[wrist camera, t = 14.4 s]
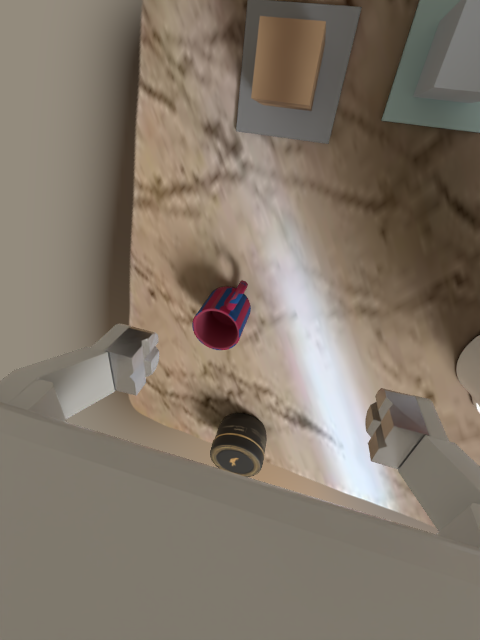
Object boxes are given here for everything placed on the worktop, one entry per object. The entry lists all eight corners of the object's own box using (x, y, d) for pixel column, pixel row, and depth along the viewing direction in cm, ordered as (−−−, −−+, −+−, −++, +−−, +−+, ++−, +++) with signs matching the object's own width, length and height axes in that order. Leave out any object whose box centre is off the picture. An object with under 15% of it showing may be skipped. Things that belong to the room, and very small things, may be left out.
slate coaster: (360, 9, 25) (361, 7, 24) (328, 143, 30) (328, 143, 30) (249, 1, 26) (247, -2, 26) (237, 131, 32) (236, 131, 31)
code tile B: (545, -5, 22) (550, -8, 22) (479, 132, 27) (482, 132, 27) (423, -13, 24) (425, -16, 23) (381, 120, 28) (382, 120, 28)
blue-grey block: (505, 26, 23) (555, -5, 18) (470, 103, 26) (505, 94, 21) (439, 21, 24) (470, -10, 19) (412, 96, 27) (433, 87, 22)
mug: (201, 307, 45) (184, 330, 40) (235, 260, 40) (221, 280, 34) (234, 331, 46) (222, 358, 41) (273, 289, 41) (265, 313, 35)
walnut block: (325, 43, 26) (325, 21, 21) (311, 111, 29) (309, 105, 24) (271, 38, 27) (259, 16, 22) (262, 105, 30) (251, 98, 25)
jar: (224, 439, 62) (213, 473, 56) (217, 407, 57) (204, 440, 51) (270, 446, 60) (263, 482, 53) (266, 413, 55) (259, 448, 48)
